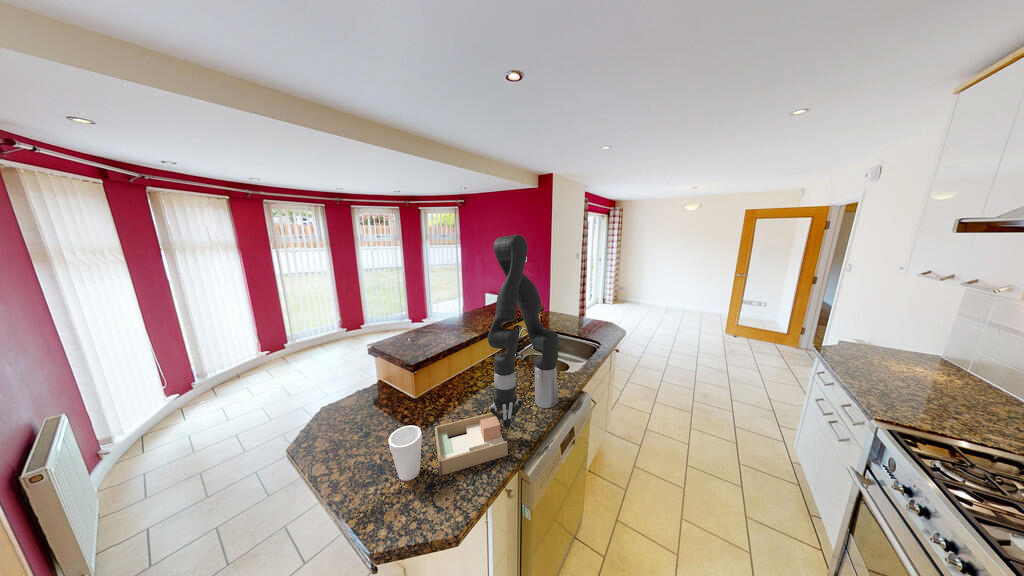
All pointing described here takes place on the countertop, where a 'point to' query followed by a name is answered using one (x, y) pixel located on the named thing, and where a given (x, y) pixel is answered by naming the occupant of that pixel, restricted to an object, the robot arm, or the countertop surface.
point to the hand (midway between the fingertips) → (506, 426)
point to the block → (490, 428)
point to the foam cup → (406, 451)
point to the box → (466, 445)
